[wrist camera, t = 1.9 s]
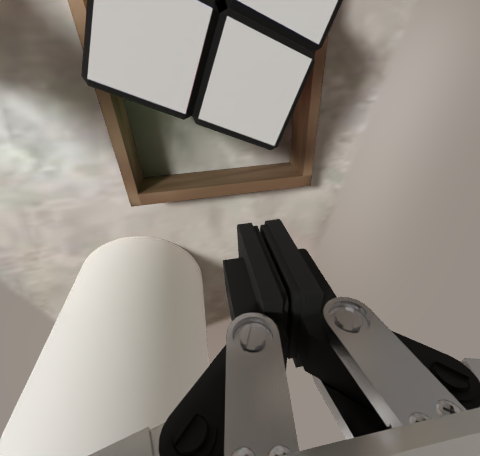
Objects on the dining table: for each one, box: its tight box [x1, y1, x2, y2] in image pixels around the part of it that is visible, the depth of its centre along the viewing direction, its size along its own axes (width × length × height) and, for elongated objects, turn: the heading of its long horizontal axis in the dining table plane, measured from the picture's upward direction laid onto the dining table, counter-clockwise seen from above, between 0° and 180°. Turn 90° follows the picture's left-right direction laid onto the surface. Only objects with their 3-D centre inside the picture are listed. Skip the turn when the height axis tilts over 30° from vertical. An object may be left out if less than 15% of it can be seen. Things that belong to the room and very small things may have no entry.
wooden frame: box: [68, 0, 328, 206], centre depth 19 cm, size 19×16×4 cm
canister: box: [0, 236, 209, 456], centre depth 23 cm, size 14×14×20 cm
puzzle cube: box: [82, 0, 343, 150], centre depth 15 cm, size 10×10×10 cm
